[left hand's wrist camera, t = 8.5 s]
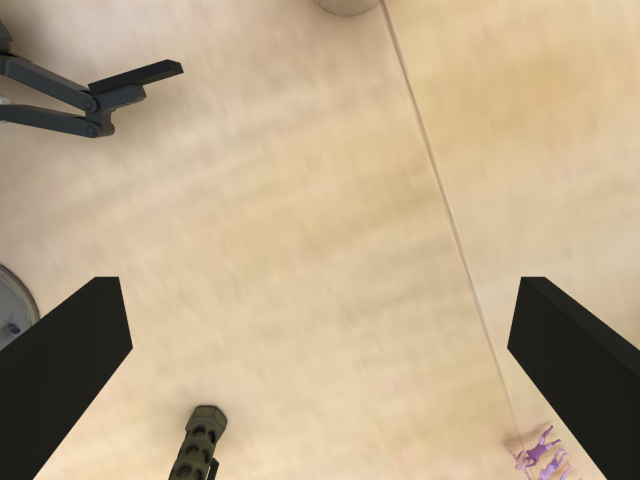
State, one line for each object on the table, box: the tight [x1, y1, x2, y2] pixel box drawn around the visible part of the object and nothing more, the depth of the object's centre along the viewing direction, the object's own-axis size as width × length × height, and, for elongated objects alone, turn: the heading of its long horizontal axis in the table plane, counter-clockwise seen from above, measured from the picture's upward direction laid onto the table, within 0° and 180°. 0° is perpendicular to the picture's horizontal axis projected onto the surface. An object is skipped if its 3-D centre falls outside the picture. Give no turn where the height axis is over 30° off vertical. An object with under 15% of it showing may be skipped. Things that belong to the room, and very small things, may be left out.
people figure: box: [503, 425, 582, 480], centre depth 50 cm, size 18×6×8 cm
